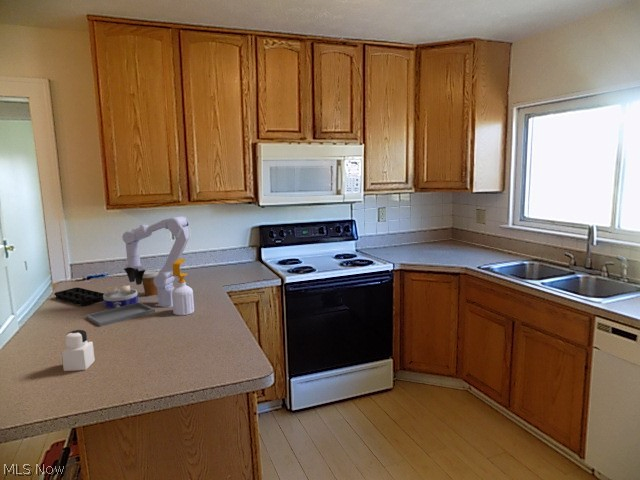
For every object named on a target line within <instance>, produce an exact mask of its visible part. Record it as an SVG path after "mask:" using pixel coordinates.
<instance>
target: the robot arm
mask: <svg viewBox="0 0 640 480" xmlns="http://www.w3.org/2000/svg"><path fill="white" fill-rule="evenodd" d="M189 228H190V222H189V220H188V218H187V216H185V215H179V216H175V217H169V218H165V219H162V220H160V221H158V222H155V223H153V224H151V225H148V224H141V225H139V227H136V228H135V227H133V228H132V229H131V230H128V231H125V232H124V233H123V234H122V236H121V237H122V241H123V242H124V243H125V252H126V262H125V266H124V268H123V270H124V272H125V274H126V275H127V277H128V281H129V282H130V283H133V282H135V284H136V285H137V286H138V285H143V282H142V278H143V275H144V272H145V271H146V269H144V267H143V265H142V263H141V257H140V256H141V255H140V241H141V240H144V239H146V238H149V237H151V236H152V234H153V233H154V232H157V231H159V230H161V229H165V230H168V231H169V232H170V233H171V234H172V235H173V237H174V238H175V241H174V243H173V245H172V247H171V249H170V252H169V254H168V256H167V258H166V261H165V263H164V265H163V267H162V268H161V269H160V270H159V273H158V275H157V276H156V277H155V278H154V280H153V282H154V285H155V286H156V287H157V293H158V294H157V301H158V303H156V304H154V306H155V307H162V308H163V307H164V308H171V307H172V308H173V301H172V291H173V290H174V289H175V288H176V287H175V286H174V282H175V281H176V280H175V279H176V276H174V275H173V268H172V265H173V263H174V262H175V261H177V260H178V259H182V258H181V257H182V255H183V252H184V251H185V249H186V246H187V245H188V242H189V240H190V229H189Z"/></svg>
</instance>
